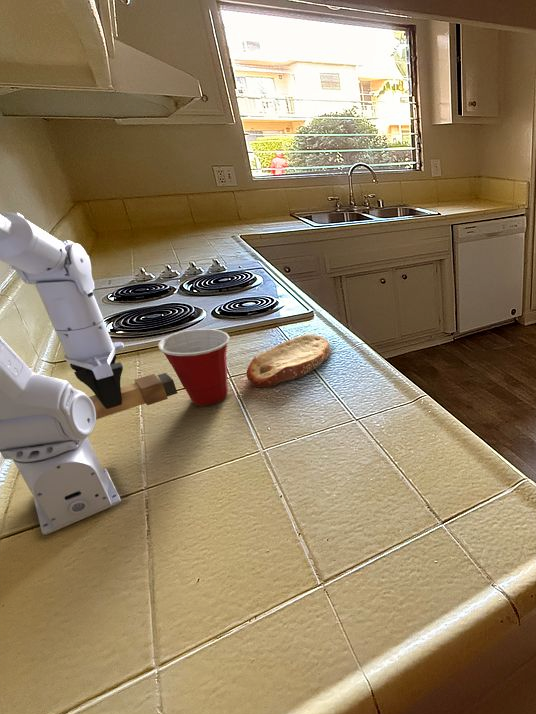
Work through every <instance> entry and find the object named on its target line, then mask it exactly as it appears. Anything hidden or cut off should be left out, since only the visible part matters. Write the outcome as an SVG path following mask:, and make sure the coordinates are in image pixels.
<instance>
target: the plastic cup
mask: <svg viewBox="0 0 536 714" xmlns="http://www.w3.org/2000/svg"><path fill="white" fill-rule="evenodd" d="M230 339H231V337H230V335H229V334H228V333H227V332H225V331H223V330H220V329H213V328H194V329H188V330H183V331H182V330H181V331H179V332H176V333H172V334H169V335H167V336H165V337H164V338H162V339H161V340H160V341H159V342H158V344H157V346H158V349H159V351H160V352H162V353H163V354H164V356H165V357H166V359H167V361H168V362H169V364H170V365H171V367H172V369H173V370H174V372H175V374H176V376H177V378H178V380H179V381H180V383H181V386H182V387H183V390H185V392H186V393H187V395H188V397H189V399H190V400H191V401H192V402H193V404H194V405H197V406H202V407H203V406H211V405H214V404H217V403H219V402H221V401H223V400H224V399H226V398H227V396H228V391H229V389H228V388H229V387H228V364H227V363H228V361H227V360H228V359H227V349H228V343H229V342H230Z"/></svg>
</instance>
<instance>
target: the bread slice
mask: <svg viewBox="0 0 536 714" xmlns="http://www.w3.org/2000/svg"><path fill="white" fill-rule="evenodd" d="M331 350H332V349H331V345H330V343H329V341H328V340H327V339H325V337H323V336H321V335H316V334H311V333H310V334H303V335H299V336H296V337H294V338H293V339H292V338H291V339H288V340H287V341H284V342H282V343H279V344H278V345H275V346H274V347H272V348H270V349H267V350H266V351H264V352H262V353H259V354H258V355H257V356H254V357H253V359H252V360H251V361H250V363H249V364H248V366H247V369H246V378H247V380H248V381H249V382H250V384H251V385H252V386H253V387H256V388H268V387H269V388H271V387H275V385H277V384H278V385H279V384H281V383H285V382H290V381H293V380H296V379H297V380H298V379H300V378H302V377H304V376H306V375H307V374H310V373H311V372H313V371H314V370H316V369H318V368H319V367H321V365H322V363H324V362H325V361H326V360H328V358H329V356H330V353H331Z"/></svg>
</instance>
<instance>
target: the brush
mask: <svg viewBox="0 0 536 714" xmlns="http://www.w3.org/2000/svg"><path fill="white" fill-rule="evenodd" d="M133 381H134V383H131V384H127V385H124V386H120V387H121V395H122V405H119V406H116V407H113V408H109V409H106V408H105V407H104V406H103V405H102V403H101V402H100V401H99V399H98V398H97V396H96V395H95V394H94V395H91V396H88V397H89V398H90V399H91V401H92V402H93V404H94V407H95V411H96V420H99V419H102V418H105V417H108V416H112V415H114V414H117V413H120V412H124V411H127V410H130V409H133V408H136V407H139V406H142V405H146V406H150V405H154V404H156V403H159V402H163V401H165V400H168V399H169V398H168V397H171V396H173V395H177V394H178V389H177V387H176V384H175V382H174V379H173V378H172V377H171V376H170V375H169V374H168V373H167V372H163V373H160V374H157V375H156V374H155V373H152V374H149V375H146V376H142V377H139V378H135V379H133Z"/></svg>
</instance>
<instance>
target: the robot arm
mask: <svg viewBox="0 0 536 714" xmlns="http://www.w3.org/2000/svg"><path fill="white" fill-rule="evenodd" d="M0 261H1V262H3V263H5V264H7V265H8V266H9V267H11V269H12V270H14V271H15V272H16V274H17V275H18V277H19V278H20V279H21V280H22V282H24V283H25V284H26V285H34V286H35V288H36V291H37V293H38V295H39V298H40V300H41V302H42V305H43V306H44V309H45V311H46V314H47V316H48V318H49V320H50V322H51V325H52V327H53V329H54V331H55V334H56V336H57V338H58V340H59V343H60V346H61V347H62V350H63V353H64V354H65V355H64V359H65V361H66V363H68V364H69V366H70V368H71V369H72V370H73V371H74V372H73V373H74V375H75V376H76V378H77V380H79V381H80V382H81V383H83V384H84V385H85V386H87V387H88V388H89V389H90V390H91V391H92V392H93V393H94V395H96V396H97V398H98V399H99V401H100V402H101V403H102V405H103V406H104V407H105V408H106V409H109V408H113V407H116V406H119V405H122V395H121V387H122V386H121V379H122V378H121V377H122V373H123V370H124V366H123V363H122V362H121V361H119V362H116V359H117V355H116V353H117V352H118V351H121V350H124V349H125V346H124V343H123V342H122V341H115V342H113V340H112V338H111V335H110V334H109V330H108V328H107V325H106V323H105V320H104V317H103V314H102V311H101V309H100V307H99V305H98V302H97V300H96V297H95V294H94V290H95V288H96V287H95V284H96V283H95V281H94V279H93V274H92V263H91V258H90V255H88V253H87V251H86V250H85V249H84V247H83V246H82V245H81V244H79V243H75V242H73V241H72V240H68V239H64V240H60V239H58V238H56V237H55V236H53V235H51V234H50V233H48V232H47V231H45V230H43V229H42V228H40V227H39V226H37V225H36V224H34V223H32V222H31V221H29V220H28V219H26V218H25V216H24V215H22V214H21V213H20V212H17V211H11V212H10V211H8V212H7V211H1V212H0ZM89 397H90V396H88V395H87V394H86V393H85V392H84V391H82V390H79V389H76V388H75V387H74V386H73V385H71V384H70V382H69V381H67V380H65V379H61V378H57V377H53V376H48V375H43V374H39V373H36V372H34V371H33V370H32V369H31V368H30V367H29V366H28V365H27V364H26V363H25V362H24V361H23V359H22V358H21V357H20V356H19V355H18V354H17V353H16V352H15V350H13V348H12V347H11V346H9V344H8V343H7V342H6V341H5V340H4V339H3V338H2V336H0V455H1V456H2V458H3V460H12V461H13V462H14V465H15V466H16V468H17V470H18V472H19V473H20V475H21V477H22V478H23V479H22V480H23V481H24V482H25V484H26V486H27V487H28V490H29V491H30V493H31V495H32V497H33V502H34V505H35V510H36V514H37V519H38V523H39V526H40V527H39V528H40V531H41V533H42V535H45V536H46V535H49V534H53V533H54V532H56V531H59V530H61V529H63V528H66V527H68V526H70V525H73V524H75V523H78V522H79V521H81V520H84V519H86V518H89V517H91V516H93V515H95V514H97V513H100V512H103V511H104V510H107V509H110V508H112V507H114V506H116V505H118V504H120V503H121V502H122V499H121V497H120V494H119V493H118V491H117V488H116V486H115V485H114V482H113V480H112V478H111V476H110V474H109V472H108V469H107V468H103V467H102V465H101V462H100V461H99V458H98V456H97V454H96V452H95V450H94V448H93V446H92V442H91V441H90V439H89V437H90V436H91V434H92V432H93V431H94V429H95V426H96V422H97V419H96V411H95V407H94V404H93V402H92V401H91V399H90V398H89Z"/></svg>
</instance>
